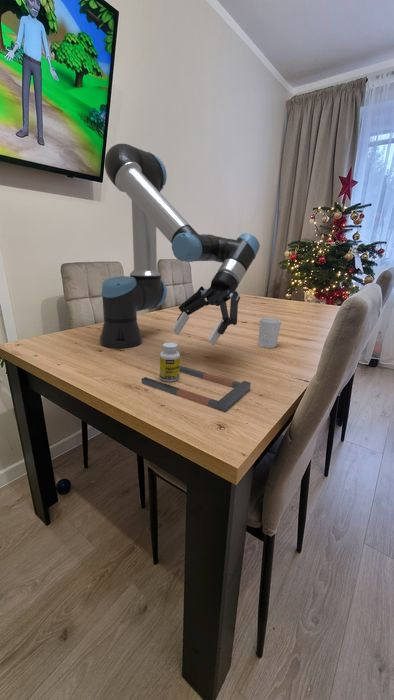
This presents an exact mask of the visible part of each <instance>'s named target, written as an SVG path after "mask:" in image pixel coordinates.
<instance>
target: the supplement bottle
mask: <svg viewBox="0 0 394 700" xmlns="http://www.w3.org/2000/svg"><path fill="white" fill-rule="evenodd" d="M178 347H179V345H178V344H177V343H176V342H165V343H163V344H162V351H161V352H160V353H159V354H160V355H159V379H160V380H162V381H163V382H166V383H167V382H168V383H170V382H171V383H172V382H176V381H178V380H179V378H180V372H179V371H180V366H181V362H180V361H181V354H180V352H179V351H178V350H179V348H178Z"/></svg>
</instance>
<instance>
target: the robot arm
mask: <svg viewBox="0 0 394 700" xmlns="http://www.w3.org/2000/svg"><path fill="white" fill-rule="evenodd" d="M104 169H105V173H106V175H107V177H108V179H109V180H110V182H111V183H112V184H113V185H114V186H115V188H116V189H117V190H119V192H122V193H126V195H127V196H128V198H129V199H130V200H131V219H132V220H131V222H132V225H131V226H132V245H133V246H132V247H133V248H132V252H133V270H132V271H131V272H130V274H129V275H128V276H126V275H125V276H121V275H120V276H113V277H109V278H106V279H104V281H102V284H101V296H102V297H101V298H102V310H103V314H102V315H103V326H102V330H101V334H100V336H99V344H100V345H101V346H103V347H105V348H111V349H126V348H127V349H128V348H132V347H133V348H134V347H137V346H140V345H141V344H142V343H143V335H142V333H141V331H140V327H139V324H138V319H137V317H138V315H137V314H138V313H137V312H141V311H146V310H152V309H155V308H159V306H161V305H163V304H164V302H165V300H166V299H167V293H168V292H167V290H168V289H167V285H166V283H165V281H163V279H161V278H162V274H161V273H160V272H159V271H158V269H157V268H158V266H157V263H158V262H157V260H158V258H157V254H158V253H157V229H158V230H159V231H160V233H161V234H162V235H163V236H164V237H165V238H166V239H167V240H168V241H169V243H171V250H172V253H173V256H174V257H175V258H176V259H177V260H178V261H181V262H187V263H193V262H218V263H221V265H220V267H219V268H218V270H217V272H216V273H215V275H214V276H213V278H212V279H211V281H210V286H209V287H208V288H207V289H206V288H204V286H200V287H199V288H198V290H197V291H196V292H195V293H194V294H193V295H191V296H190V297H188V299H186V300H185V301H184V302H183V303H182V304H180V305H179V306H178V310H179V311H180V312H181V313H180V314H179V316H178V317H177V319H176V322H175V324H174V326H173V327H172V331H173V332H174V333H175V334H176V335H177V336H179V335H180V334H181V332H182V330H183V329H184V327H185V325H186V324H187V322H188V321H189V319H190V315H192V314H194V313H195V312H196V311H197V312H198V311H199V310H201V309H202V308H203V307H207V306H209V305H210V306H216V307H220V313H221V319H222V320H221V319H218V322H217V324H216V326H215V327H214V329H213V331H212V333H210V335H209V337H208V339H207V340H208V341H209V343H210V344H211V345H212V346H216V344H217V342H218V340H219V338H220V337H221V336H222V335H224V334H225V332H226V330H227V328H229V326H230V325H233V326H235V325H237V324H238V311H239V302H240V300H241V296H240V294H239V292H238V291H236V290H237V289H238V287H239V285H240V284H241V282H242V279H244V277H245V275H246V273H247V271H248V270H249V268H250V266H251V265H252V263H253V261H254V260H255V259H256V257H257V254H258V252H259V250H260V247H261V246H260V242H259V239H258V238H257V237H256V236H255V235H252V234H251V233H248V232H246V233H241V234H240V235H239V236H238V237H237V238H236V239H233V238H225V237H222V236H217V235H213V234H210V233H209V234H207V233H206V234H205V233H203V234H200V233H198V232H197V231H196V230H195V229H194V228H193V227H192V226H191V225H190V224H189V222H188V221H187V220H186V219H185V218H184V217H183V216H182V215H181V214H180V212H178V210H176V208H175V207H174V206H173V205H172V204H171V203H170V201H168V199H166V197H165V196H164V195H163V194H162V193H161V192H162V190H163V189H164V186H165V185H166V183H167V176H168V175H167V174H168V173H167V169H166V166H165V164H164V162H163V161H162V160H161V158H160V157H158V156H156V155H155V154H154V153H152V152H149V151H145V150H143V149H141V148H137V147H135V146H133V145H131V144H128V143H116V144H114V145H113V146H111V147H110V148H109V149H108V150H107V151H106V154H105V157H104ZM229 300H230V304H229V305H230V307H229V312H228V305H227V302H228V301H229Z"/></svg>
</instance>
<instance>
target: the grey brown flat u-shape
mask: <svg viewBox="0 0 394 700" xmlns="http://www.w3.org/2000/svg"><path fill="white" fill-rule="evenodd" d="M179 373H183V374H187V375H190V376H194V377H198V378H200V379H203V380H207V381H211V382H214V383H218V384H221V385H223V386H226V387H227V386H228V387H231V388H233V389H232V390H230V391H229V392H227V393H226V394H225V395H224V396H222V397H221V398H220V399H219V400H216V399H214V398H211V397H208V396H205V395H202V394H198V393H195V392H192V391H190V390H185V389H183V388H180V387H177V386H174V385H171V384H168V383H164V382H162V381H158V380H156V379H152V378H150V377H147V376H144V377H142V378H141V384H142V385H143V384H144V385H146V386H150V387H153V388H155V389H158V390H161V391H164V392H167V393H169V394H173V395H175V396H179V397H182V398H185V399H187V400H190V401H193V402H196V403H199V404H202V405H204V406H207V407H210V408H213V409H217V410H219V411H223V412H227V411H228V410H229V409H230V408H231V407H233V405H235V403H237V402H238V401H239V400H240V399H241V398H242V397H244V396H245V395H246V394H247V393H249V391H250V390H251V386H252V385H251V384H252V383H251V382H250V381H246V380H243V381H241V382H240V381H236V380H233V379H230V378H225V377H222V376H219V375H215V374H212V373H208V372H204V371H200V370H198V369H193V368H191V367H187V366H184V365H180V371H179Z"/></svg>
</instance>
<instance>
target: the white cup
mask: <svg viewBox="0 0 394 700" xmlns="http://www.w3.org/2000/svg"><path fill="white" fill-rule="evenodd" d="M258 325H259V326H258V346H259V347H261V348H264V349H265V348H267V349H274V348H276V347H277V344H278V340H279V336H280V330H281V325H282V320H280V319H278V318H274V317H261V318H259V323H258Z"/></svg>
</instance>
